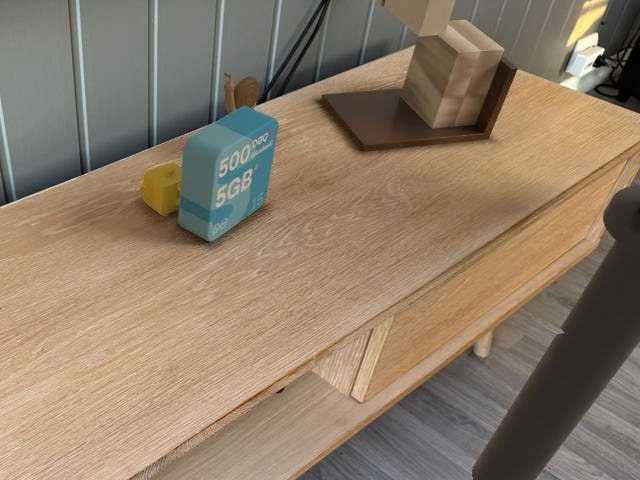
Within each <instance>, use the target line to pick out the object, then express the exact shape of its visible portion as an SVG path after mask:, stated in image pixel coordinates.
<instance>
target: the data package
mask: <svg viewBox="0 0 640 480" xmlns="http://www.w3.org/2000/svg"><path fill="white" fill-rule="evenodd" d="M278 132H279V122H278V119H276V118H274V117H273V116H270V115H268V114H265V113H263V112H261V111H258V110H256V109H255V108H254V109H251V108H249V107H247V106H243V107H241V108H239V109H237V110H235V111H234V112H232V113H230V114H228V113H227V114H226V115H224V116H223V117H221V118H219V119H218V120H216V121H214V122H212V123H211V124H209V125H207V126H205V127H204V128H201V129H200V130H198V131H197V132H195V133H193V134H191V136H190V137H188V139H187V140H186V142H185V144H184V146H183V150H182V164H181V167H182V175H181V189H180V203H179V209H178V218H177V219H178V220H177V223H178V225H179V227H181V228H183V229H185V230H186V231H188V232H190V233H191V234H194V235H195V236H196V237H197V236H198V237H199V238H201V239H202V240H205V241H207V242H209V243H210V242H214V241H216V240H217V239H218V238H220V237H221V236H223V235H224V234H225V233H227V232H228V231H229V230H231V229H232V228H234V227H235V226H237V225H239V223H241V222H242V221H244V220H246V219H247V218H249V216H250V215H252V214H254V213H255V212H256V211H258V210H259V209H260V208H261V207H262V205H263V204H264V202H265V201H266V198H267V194H268V190H269V184H270V178H271V172H272V167H273V160H274V155H275V150H276V149H275V148H276V142H277V138H278Z"/></svg>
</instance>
